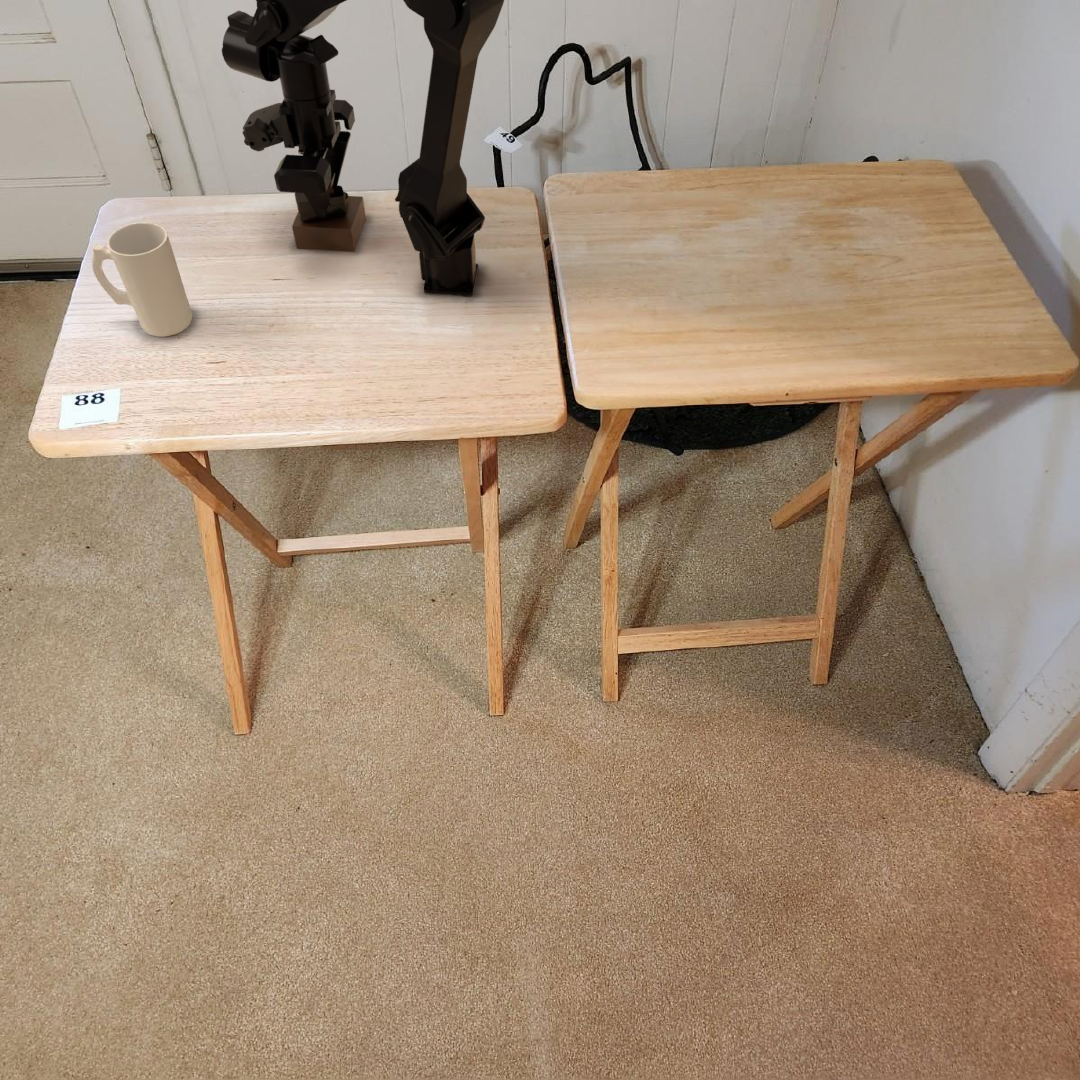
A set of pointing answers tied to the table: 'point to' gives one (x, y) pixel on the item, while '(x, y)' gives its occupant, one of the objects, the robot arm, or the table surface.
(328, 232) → the walnut block
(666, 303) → the table surface
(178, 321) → the mug
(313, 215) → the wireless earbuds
